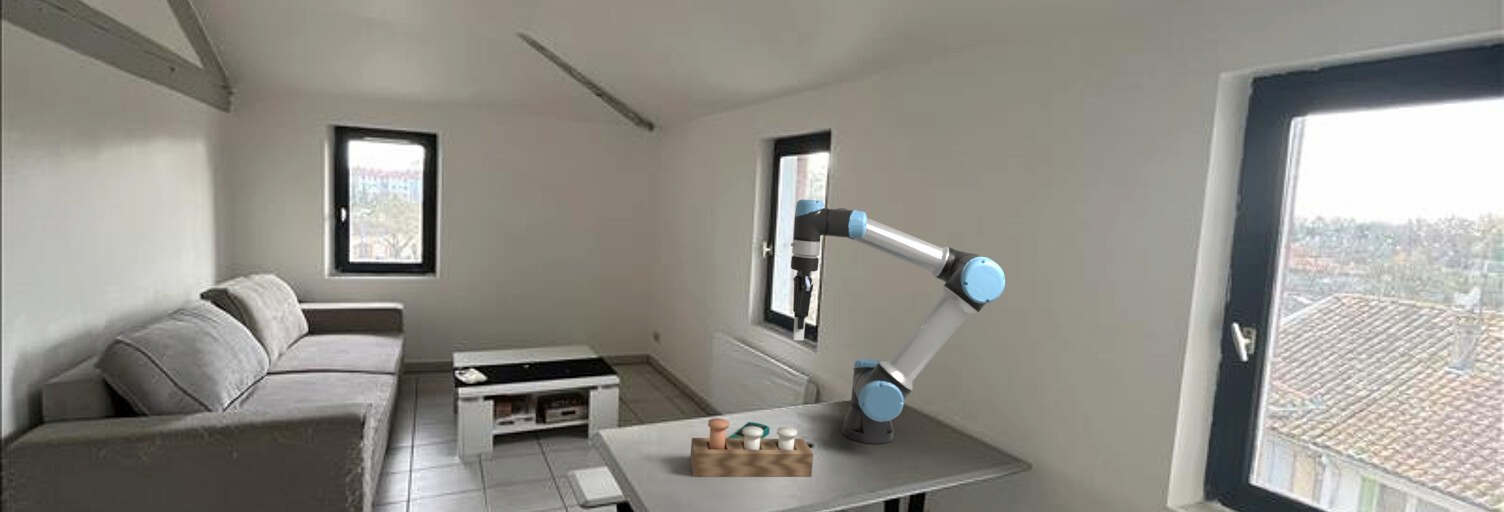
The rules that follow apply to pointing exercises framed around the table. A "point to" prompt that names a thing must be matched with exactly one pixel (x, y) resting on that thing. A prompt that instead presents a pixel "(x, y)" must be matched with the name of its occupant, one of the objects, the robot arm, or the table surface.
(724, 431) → the plug terracotta
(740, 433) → the digital multimeter
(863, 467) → the table surface
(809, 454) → the board
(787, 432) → the plug near
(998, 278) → the robot arm
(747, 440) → the plug mid
